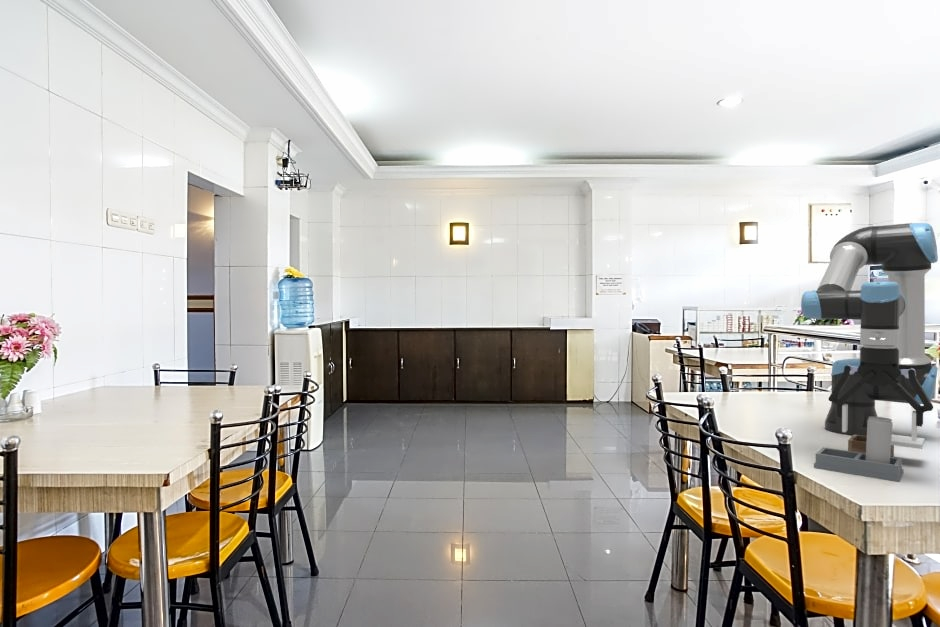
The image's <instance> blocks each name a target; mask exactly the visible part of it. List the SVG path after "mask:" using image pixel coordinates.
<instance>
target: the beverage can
mask: <svg viewBox="0 0 940 627" xmlns="http://www.w3.org/2000/svg"><path fill="white" fill-rule="evenodd" d="M868 418H869V419H868V422H867V442H866V461H873V462H879V463H886V464H890V453H891V438H892V434H893V422H892V421H893V419H891V418H888V417H883V416H878V417H874V416H870V417H868Z"/></svg>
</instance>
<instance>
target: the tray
mask: <svg viewBox="0 0 940 627" xmlns="http://www.w3.org/2000/svg"><path fill="white" fill-rule="evenodd" d="M866 442H867V436H862V435H851V437H850V438H848V439H847V451H852V452H859V453H866ZM894 455H895V445H891V453H890V457H894V458H895V456H894Z"/></svg>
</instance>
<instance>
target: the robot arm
mask: <svg viewBox="0 0 940 627" xmlns="http://www.w3.org/2000/svg"><path fill="white" fill-rule="evenodd" d="M936 241H937V239H936V236H935V232H934V228H933V226H932V225H931V224H930V223H927V222H909V223H897V224H896V223H895V224H887V225H875V226H874V225H873V226H872V225H870V226H866V227H865V226H864V227H862V228H861V227H860V228H858V229H856V230H854V231H852V232H850V233H848V234H846V235H845V236H843V237H842V238H840V239H839V240H837V242H836V243H835V244H834V245H833V247H832V248H831V250H830V252H829V260H830V262H829V264H828V266H827V268H826V269H825V272H824V275H823V277H822V278H821V280H820V283H819V284H818V287H817V289H816V290H815V289H814V290H807V291H804V293H803V294H802V297H801V302H800V308H801V314H802V317H804V318H806V319H812V320H813V319H815V320H854V321H855V320H858V321H860V329H859V331H860V338H859V341H860V342H859V344H860V345H861V347H860V349H859V351H860V352H859V358H847V359H846V358H845V359H844V358H843V359H837V360H835V361H834V362H832V367H831V373H830V376H831V392H830V395H829V397H828V398H827V399H828V401H829V402H831V403H830V407H829V410H828V412H827V415H826V418H825V420H824V429H825V430H827V431H830V432H833V433H837V434H838V433H839V434H843V435H844V434H845V435H851V436H853V435H861V436H867V422H868V419H869V418H868V417H870V416H874V417H879V416H878V413H877V411H876V401H881V402H890V403H899V404H900V403H902V404H908V405H910V406H911V408H913V410H912V412H911V437H912V441H916V439H917V438H918V437H917V436H918V427H921V428H922V426H923V424H924V413H925V412H932V411H933V409H934V405H933V403H932V400H933V398H934V397H933V396H934V393H935V388H936V381H937V377H938V367H937V366H935V365H932V359H931V358H930V357H928V355H926V351H925V350H926V346H925V345H926V344H925V343H926V341H925V340H926V336H925V334H926V333H925V332H926V327H925V326H926V325H925V324H926V322H925V321H926V320H925V319H926V315H925V314H926V313H925V307H926V306H925V303H926V302H925V301H926V299H925V297H926V296H925V293H926V292H925V291H926V290H925V285H926V284H925V280H926V279H925V276H926V274H928V272H929V271H931V270H932V264H934V263H937V262H938V260H939V258H938V257H939V256H938V246H937V242H936ZM868 265H869V266H872V265H873V266H874V265H877V266H879V265H880V266H881V271H882V272H883V273H885V275H887V279H888V280H887V281H868V282H866V281H865V282H863V283H862V284H861V286H860V289H859V290H857V289H856V290H852V288H853V286H854V283H855V280H856V278H857V276H858V273H859V270H860V269H862V268H863V267H864V266H868Z"/></svg>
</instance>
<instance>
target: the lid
mask: <svg viewBox="0 0 940 627" xmlns="http://www.w3.org/2000/svg"><path fill="white" fill-rule="evenodd" d="M925 440H926V439H925V438H924V437H917V439H916V441H912V436H910V435H909V436H906V435H901V434H900V435H899V434H894V433H892V438H891V445H894V446H897V447H905V448H910V449H911V448H912V449H918V450H919V449H920V450H922V449H923V447H924V445H925V443H926V441H925Z"/></svg>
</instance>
